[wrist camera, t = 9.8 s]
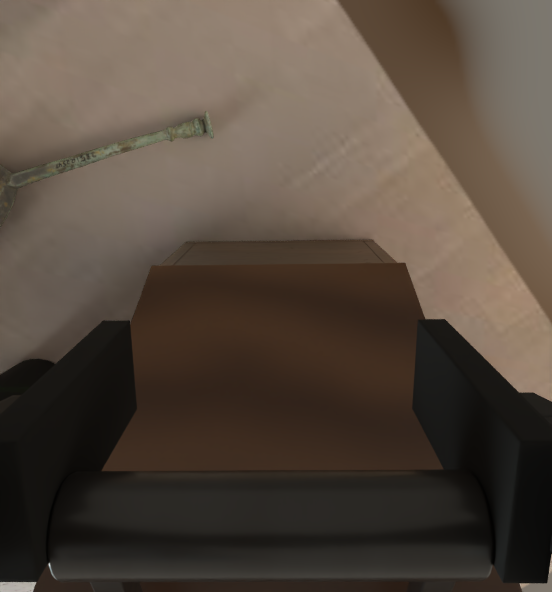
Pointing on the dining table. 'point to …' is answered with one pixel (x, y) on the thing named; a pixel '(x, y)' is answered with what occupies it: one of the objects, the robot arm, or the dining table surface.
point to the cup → (22, 377)
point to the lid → (273, 447)
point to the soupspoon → (91, 159)
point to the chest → (279, 252)
